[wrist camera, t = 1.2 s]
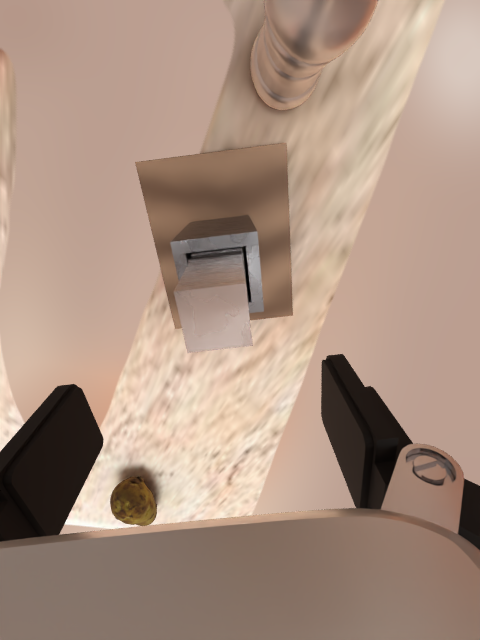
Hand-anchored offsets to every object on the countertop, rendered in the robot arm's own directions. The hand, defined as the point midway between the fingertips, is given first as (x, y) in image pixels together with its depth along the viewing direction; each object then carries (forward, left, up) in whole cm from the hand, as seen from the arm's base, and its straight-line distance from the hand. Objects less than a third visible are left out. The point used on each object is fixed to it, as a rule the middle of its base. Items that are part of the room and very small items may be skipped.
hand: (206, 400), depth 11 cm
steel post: (0, 0, -26) cm, 26 cm away
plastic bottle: (-16, +8, -28) cm, 33 cm away
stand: (0, 0, -28) cm, 28 cm away
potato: (+43, -22, -28) cm, 55 cm away
